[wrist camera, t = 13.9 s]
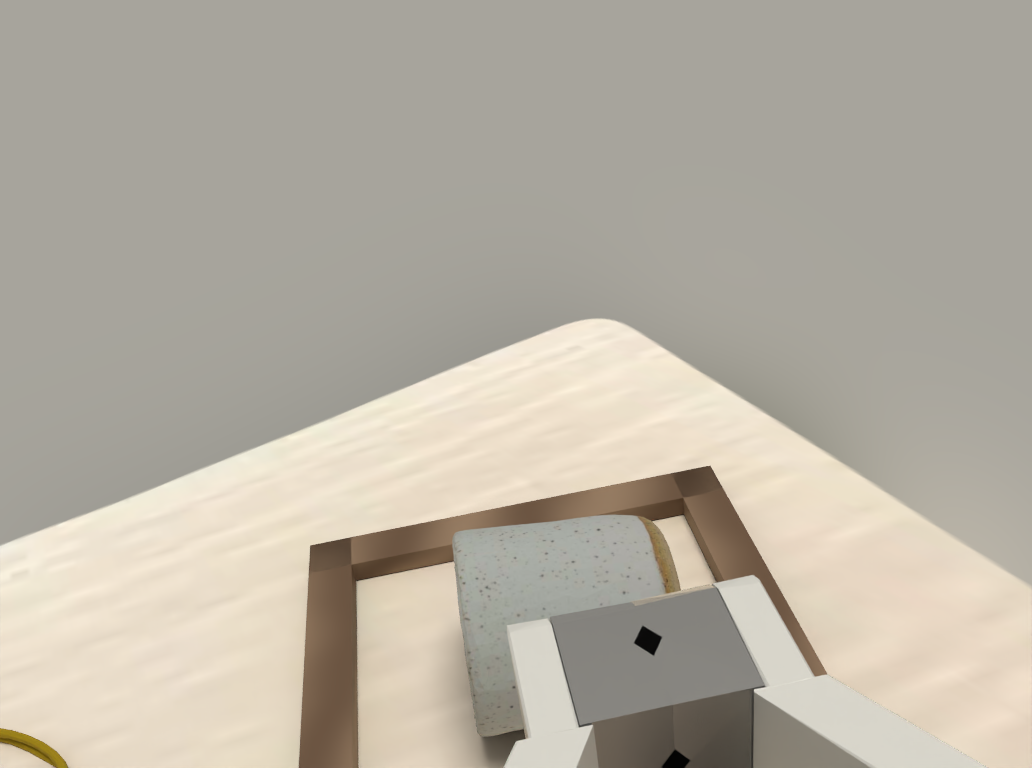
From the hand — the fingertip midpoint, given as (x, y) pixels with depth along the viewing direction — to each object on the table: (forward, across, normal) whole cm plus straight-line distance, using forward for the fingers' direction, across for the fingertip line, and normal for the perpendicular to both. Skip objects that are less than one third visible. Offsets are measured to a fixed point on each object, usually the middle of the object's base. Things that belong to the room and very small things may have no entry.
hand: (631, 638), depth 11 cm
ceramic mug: (+20, -1, +22) cm, 30 cm away
